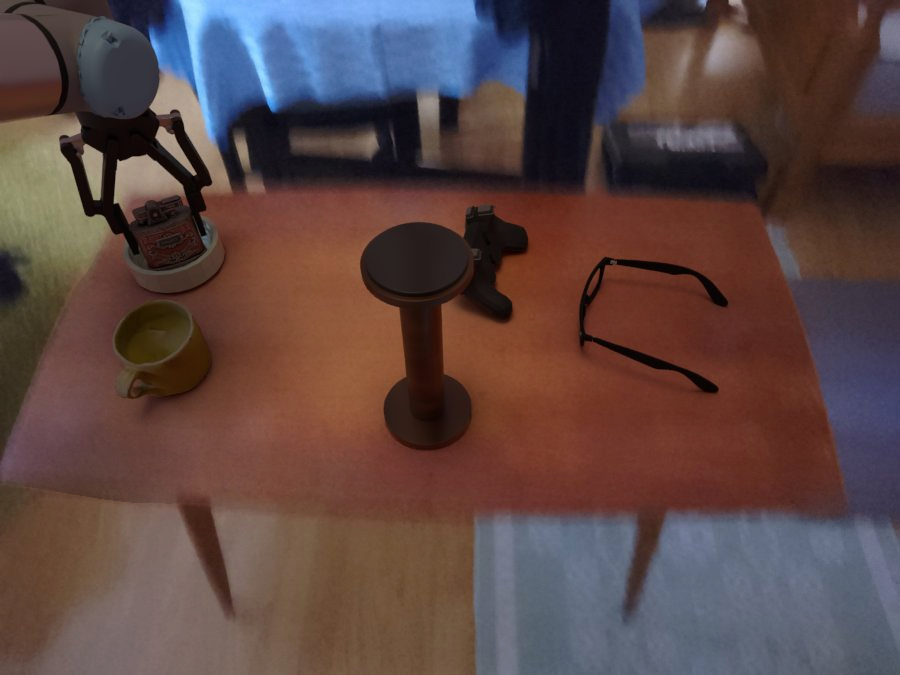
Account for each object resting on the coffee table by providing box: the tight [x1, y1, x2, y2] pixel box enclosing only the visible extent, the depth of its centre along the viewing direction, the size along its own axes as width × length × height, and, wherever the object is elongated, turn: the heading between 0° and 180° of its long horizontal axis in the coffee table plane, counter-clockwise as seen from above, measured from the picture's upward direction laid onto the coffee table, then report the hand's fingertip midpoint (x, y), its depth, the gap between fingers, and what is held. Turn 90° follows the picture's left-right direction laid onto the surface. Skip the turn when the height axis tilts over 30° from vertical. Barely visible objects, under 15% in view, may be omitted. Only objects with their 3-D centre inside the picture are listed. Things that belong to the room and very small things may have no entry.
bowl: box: [122, 214, 226, 294], centre depth 93 cm, size 12×12×4 cm
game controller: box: [459, 204, 529, 320], centre depth 90 cm, size 16×7×10 cm, turn 167°
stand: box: [359, 221, 474, 451], centre depth 69 cm, size 10×10×24 cm
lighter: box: [129, 194, 207, 271], centre depth 90 cm, size 8×3×10 cm, turn 118°
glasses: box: [578, 256, 729, 394], centre depth 84 cm, size 17×18×5 cm
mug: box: [111, 298, 212, 400], centre depth 79 cm, size 12×10×10 cm
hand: (169, 238), depth 91 cm, fingers closed on lighter, 8 cm apart
